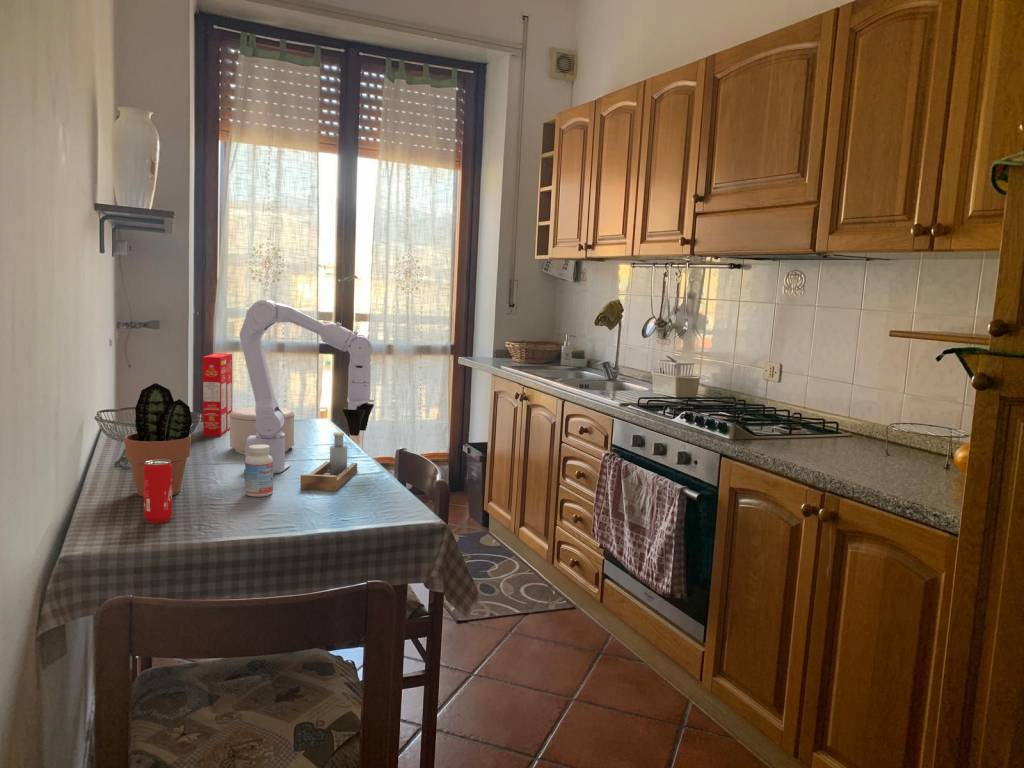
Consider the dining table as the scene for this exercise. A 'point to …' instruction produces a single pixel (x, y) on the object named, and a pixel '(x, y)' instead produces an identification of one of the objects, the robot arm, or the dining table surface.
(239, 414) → the container
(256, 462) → the pill bottle
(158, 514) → the beverage can
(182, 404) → the potted plant
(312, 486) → the cradle
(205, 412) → the food packaging
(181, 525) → the dining table surface
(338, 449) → the bottle
